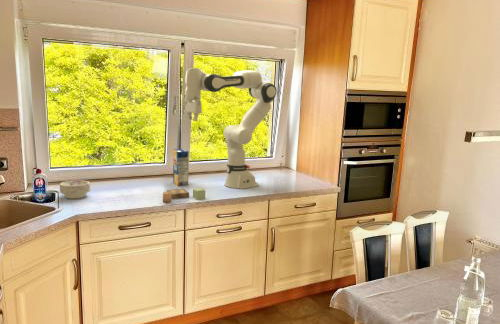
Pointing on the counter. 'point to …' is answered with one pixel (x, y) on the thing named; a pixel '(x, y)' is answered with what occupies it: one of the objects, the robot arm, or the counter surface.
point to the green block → (199, 193)
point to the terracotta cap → (166, 197)
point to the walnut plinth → (178, 193)
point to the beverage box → (180, 166)
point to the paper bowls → (75, 188)
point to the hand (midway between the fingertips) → (192, 120)
